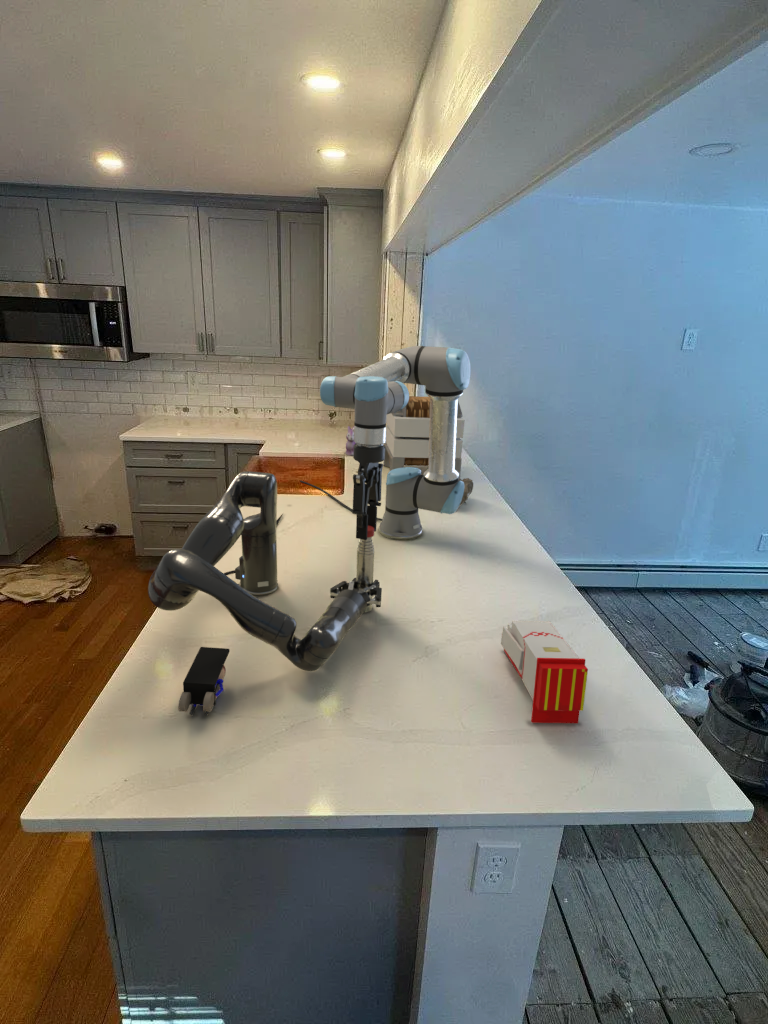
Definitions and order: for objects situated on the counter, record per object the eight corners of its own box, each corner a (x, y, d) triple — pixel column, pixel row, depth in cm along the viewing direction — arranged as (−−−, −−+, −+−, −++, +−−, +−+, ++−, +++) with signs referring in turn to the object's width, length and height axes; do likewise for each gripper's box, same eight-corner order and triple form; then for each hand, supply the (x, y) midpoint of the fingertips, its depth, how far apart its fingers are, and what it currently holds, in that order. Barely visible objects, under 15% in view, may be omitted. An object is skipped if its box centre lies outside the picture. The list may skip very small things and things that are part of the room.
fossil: (437, 484, 244) (466, 465, 239) (450, 500, 247) (479, 482, 242) (436, 505, 224) (468, 485, 219) (450, 523, 227) (482, 504, 222)
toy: (547, 606, 135) (596, 665, 106) (541, 658, 138) (589, 729, 108) (496, 604, 134) (532, 664, 105) (492, 657, 137) (526, 729, 108)
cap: (373, 531, 144) (374, 525, 144) (374, 537, 141) (374, 531, 140) (358, 531, 144) (358, 525, 144) (358, 537, 140) (358, 530, 140)
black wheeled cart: (215, 728, 107) (233, 673, 120) (211, 698, 104) (230, 644, 117) (179, 727, 107) (201, 672, 120) (174, 697, 103) (197, 644, 117)
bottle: (355, 612, 147) (357, 533, 140) (355, 604, 152) (357, 526, 144) (371, 612, 148) (375, 533, 140) (372, 604, 152) (375, 527, 144)
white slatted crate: (382, 463, 289) (386, 382, 275) (445, 464, 293) (451, 384, 279) (390, 482, 257) (394, 392, 243) (460, 483, 261) (468, 394, 247)
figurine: (348, 456, 299) (349, 428, 294) (341, 451, 307) (341, 424, 302) (364, 455, 303) (365, 427, 298) (356, 450, 312) (357, 423, 307)
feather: (290, 508, 223) (292, 504, 223) (272, 532, 197) (275, 527, 196) (286, 505, 223) (289, 501, 223) (268, 529, 197) (271, 525, 196)
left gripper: (316, 619, 138) (342, 589, 153) (372, 631, 134) (393, 598, 149) (316, 591, 135) (343, 563, 150) (373, 603, 131) (394, 572, 147)
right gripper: (369, 434, 144) (366, 520, 152) (338, 449, 128) (337, 544, 135) (397, 438, 141) (392, 525, 149) (369, 454, 125) (366, 550, 133)
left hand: (368, 581), depth 150 cm, fingers closed on bottle, 4 cm apart
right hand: (366, 534), depth 142 cm, fingers open, 5 cm apart
